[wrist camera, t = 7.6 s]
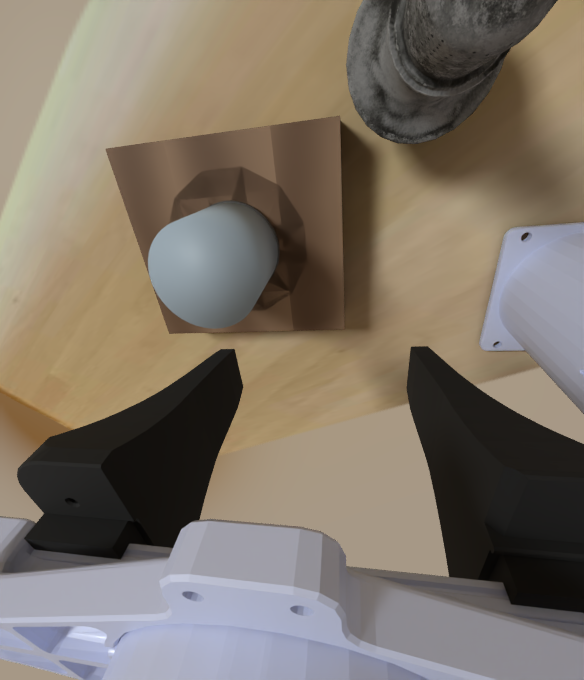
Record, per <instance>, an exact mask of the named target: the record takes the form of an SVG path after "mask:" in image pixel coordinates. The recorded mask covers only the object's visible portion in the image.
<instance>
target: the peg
mask: <svg viewBox="0 0 584 680" xmlns="http://www.w3.org/2000/svg"><path fill="white" fill-rule="evenodd" d="M279 254H280V250H279V242H278V238H277V235H276V232H275V230H274V228H273V226H272V225H271V223H270V222H269V220H268V219H267V218H266V217H265V216H264V215H263V214H262V213H261V212H260V211H259V210H257V209H256V208H254V207H252V206H251V205H248V204H246V203H243V202H239V201H233V200H231V201H221V202H218V203H215V204H212V205H211V206H209V207H207V208H206V209H203V210H201V211H198V212H196V213H193V214H191V215H189V216H186V217H184V218H181V219H179V220H177V221H174V222H172V223H170V224H168V225H167V226H165V227H164V228H163V229H162V230H161V231H160V232H159V233H158V234H157V235H156V237H155V238H154V240H153V242H152V244H151V247H150V250H149V255H148V269H149V275H150V279H151V282H152V284H153V287H154V289H155V291H156V293H157V295H158V296H159V298H160V299H161V300H162V302H163V303H164V304H165V305H166V306H167V307H168V308H169V309H170V310H171V311H172V312H173V313H174V314H176V315H177V316H178V317H180V318H181V319H183V320H185V321H187V322H189V323H191V324H193V325H196V326H199V327H203V328H212V329H218V328H225V327H229V326H232V325H234V324H236V323H238V322H240V321H241V320H243V319H244V318H245V317H246V316H247V315H248V314H249V313H250V311H251V310H252V309H253V307H254V305H255V304H256V302H257V300H258V298H259V297H260V295H261V293H262V291H263V290H264V288H265V286H266V284H267V283H268V281H269V280H270V278H271V277H272V276H273V274H274V272H275V270H276V268H277V265H278V261H279Z"/></svg>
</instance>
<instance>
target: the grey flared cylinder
mask: <svg viewBox="0 0 584 680" xmlns="http://www.w3.org/2000/svg"><path fill="white" fill-rule="evenodd" d="M556 2H557V0H363V2H362V3H361V5H360V7H359V9H358V11H357V14H356V17H355V21H354V24H353V27H352V31H351V34H350V37H349V45H348V55H347V64H346V66H347V76H348V85H349V91H350V94H351V97H352V100H353V103H354V105H355V108H356V110H357V112H358V113H359V115H360V116H361V118H362V119H363V121H364V122H365V124H366V125H367V126H368V127H369V128H370V129H372V130H373V131H374V132H375V133H377V134H378V135H379V136H380V137H382V138H385V139H387V140H390V141H393V142H395V143H403V144H418V143H422V142H426V141H430V140H434V139H437V138H439V137H440V136H442V135H444V134H446V133H448V132H450V131H452V130H453V129H455V128H456V127H457V126H458V125H460V124H461V123H462V122H463V121H464V120H465V119H467V118H468V117H469V116H470V115H471V114H472V113H473V112H474V111H475V110H476V108H477V107H478V106H479V105H480V103H481V102H482V101H483V99H484V98H485V97H486V96H487V94H488V93H489V91H490V89H491V87H492V85H493V83H494V82H495V80H496V78H497V76H498V74H499V72H500V70H501V68H502V65H503V61H504V58H505V56H506V55H507V53H508V52H509V51H510V49H511V47H513V46H514V45H516V44H518V43H519V42H520V41H521V40H523V39H524V38H525V37H526V36H527V35H528V34H529V33H530V32H532V31H533V30H534V29H535V28H536V27H537V26H538V25H539V23H540V22H541V21H542V20H543V18H544V17H545V16H546V14H547V13H548V12H549V11H550V9H551V8H552V7H553V5H554V4H555V3H556Z"/></svg>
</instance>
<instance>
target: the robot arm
mask: <svg viewBox="0 0 584 680" xmlns="http://www.w3.org/2000/svg"><path fill="white" fill-rule="evenodd" d="M526 232H528V236H527V238H526V239H524V240H521V237H522V235H523V234H524V233H526ZM498 341H499V343H498V344H497V345H493V344H494V343H495V342H498ZM479 345H480V347H481V348H482V349H483V350H485V351H520V350H525V351H526V352H527V353H528V354H529V355H530V356H531V357H532V358H533V359H534V360H535V361H536V363H537V364H538V365H539V366H540V367H541V368H542V369H543V370H544V371H545V372H546V373H547V375H548V376H549V377H550V378H551V379H552V380H553V381H554V382H555V383H556V384H557V385H558V387H559V388H560V389H561V390H562V391H563V392H564V393H565V394H566V395H567V396H568V397H569V399H570V400H572V402H573V403H574V404H575V405H576V406H577V407H578V408H579V409H580V411H581V412H582V413H583V414H584V222H578V223H565V224H551V225H537V226H523V227H514V228H511V229H509V230H508V231H507V232H506V233H505V235H504V238H503V242H502V247H501V251H500V255H499V259H498V264H497V268H496V272H495V277H494V281H493V285H492V290H491V294H490V298H489V303H488V307H487V311H486V316H485V320H484V324H483V329H482V333H481V337H480V341H479ZM242 390H243V384H242V380H241V375H240V371H239V367H238V362H237V358H236V354H235V350H234V349H221V350H219V351H218V352H216V353H215V354H213V355H212V356H210V357H209V358H208V359H206V360H205V361H204V362H202V363H201V364H200V365H198V366H197V367H195V368H194V369H193V370H191V371H190V372H189V373H187V374H186V375H184V376H183V377H181V378H180V379H178V380H177V381H175V382H174V383H172V384H171V385H169V386H168V387H166V388H165V389H163V390H162V391H160V392H158V393H156V394H155V395H153V396H151V397H149V398H147V399H146V400H144V401H142V402H140V403H138V404H136V405H134V406H132V407H129V408H127V409H125V410H123V411H121V412H119V413H117V414H114V415H112V416H109V417H107V418H105V419H102V420H100V421H97V422H94V423H92V424H89V425H86V426H83V427H80V428H77V429H74V430H71V431H68V432H65V433H62V434H59V435H55V436H52V437H49V438H48V439H47V440H46V441H45V442H44V443H43V444H42V445H41V446H40V447H39V448H38V449H37V450H36V451H35V452H34V453H33V454H32V455H31V456H30V457H29V458H28V459H27V460H26V461H25V462H24V463H23V464H22V465H21V466H20V467H19V468H18V472H17V477H18V480H19V483H20V485H21V486H22V488H23V489H24V491H25V492H26V493H27V494H28V495H29V496H30V497H31V499H32V500H33V501H34V502H35V503H36V504H37V505H38V507H39V508H40V509H41V510H42V511H43V512H44V515H43V516H42V517H41V518H40V519H39V521H38V522H37V523H35V522H33V521H31V520H28V519H24V518H23V519H22V518H13V517H3V516H0V659H2V660H7V661H11V662H15V663H19V664H23V665H27V666H31V667H35V668H39V669H42V670H47V671H50V672H54V673H57V674H61V675H65V676H68V677H72V678H76V679H79V680H584V444H582V443H580V442H577V441H575V440H573V439H570V438H568V437H566V436H563V435H561V434H559V433H557V432H554V431H552V430H550V429H548V428H546V427H543V426H542V425H540V424H538V423H536V422H534V421H532V420H530V419H528V418H526V417H524V416H522V415H520V414H518V413H516V412H515V411H513V410H511V409H509V408H508V407H506V406H505V405H503V404H501V403H500V402H498V401H496V400H495V399H493V398H492V397H490V396H489V395H487V394H486V393H484V392H483V391H481V390H480V389H478V388H477V387H476V386H474V385H473V384H472V383H470V382H469V381H468V380H466V379H465V378H464V377H463V376H461V375H460V374H459V373H458V372H456V371H455V370H454V369H453V368H452V367H450V366H449V365H448V364H447V363H446V362H445V361H444V360H442V359H441V358H440V357H439V356H438V355H437V354H436V353H435V352H433V351H432V350H431V349H430V348H429V347H428V346H426V347H411V351H410V361H409V370H408V380H407V393H408V399H409V404H410V410H411V413H412V416H413V419H414V423H415V425H416V429H417V432H418V435H419V438H420V441H421V444H422V447H423V450H424V453H425V456H426V460H427V463H428V467H429V470H430V475H431V480H432V484H433V489H434V493H435V499H436V504H437V509H438V514H439V519H440V525H441V530H442V536H443V542H444V547H445V553H446V559H447V565H448V572H449V577H444V576H435V575H426V574H416V573H406V572H397V571H387V570H378V569H367V568H358V567H349V566H346V555H345V554H344V552H343V550H342V548H341V546H340V544H339V543H338V542H337V541H336V540H334V539H332V538H331V537H329V536H328V535H326V534H324V533H323V532H321V531H317V530H312V529H308V528H304V527H298V526H286V525H274V524H262V523H251V522H239V521H227V520H216V519H207V520H199V519H200V515H201V511H202V507H203V503H204V499H205V495H206V492H207V488H208V485H209V481H210V478H211V474H212V471H213V468H214V465H215V461H216V459H217V456H218V453H219V451H220V448H221V446H222V444H223V441H224V439H225V437H226V434H227V432H228V430H229V427H230V425H231V423H232V420H233V418H234V415H235V413H236V410H237V408H238V405H239V401H240V398H241V394H242Z"/></svg>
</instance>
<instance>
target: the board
mask: <svg viewBox="0 0 584 680" xmlns="http://www.w3.org/2000/svg"><path fill="white" fill-rule="evenodd" d="M106 152H107V155H108V158H109V161H110V164H111V167H112V170H113V172H114V175H115V178H116V181H117V184H118V187H119V190H120V193H121V195H122V198H123V201H124V204H125V207H126V210H127V213H128V216H129V219H130V221H131V224H132V227H133V230H134V233H135V236H136V239H137V242H138V245H139V247H140V250H141V253H142V256H143V259H144V262H145V265H146V268H147V271H148V273H149V269H148V255H149V250H150V247H151V244H152V242H153V240H154V238H155V237H156V235H157V234H158V233H159V232H160V231H161V230H162V229H163V228H164V227H165V226H167V225H168V224H170V223H172V222H174V221H177V220H179V219H181V218H184V217H186V216H189V215H191V214H193V213H196V212H198V211H201V210H203V209H206V208H207V207H209V206H211V205H212V204H215V203H218V202H221V201H231V200H233V201H239V202H243V203H246V204H248V205H251V206H252V207H254V208H256V209H257V210H259V211H260V212H261V213H262V214H263V215H264V216H265V217H266V218H267V219H268V220H269V222H270V223H271V225H272V226H273V228H274V230H275V232H276V235H277V238H278V242H279V250H280V254H279V261H278V265H277V268H276V270H275V272H274V274H273V276H272V277H271V278H270V280H269V281H268V283H267V284H266V286H265V288H264V290H263V291H262V293H261V295H260V297H259V298H258V300H257V302H256V304H255V305H254V307H253V309H252V310H251V311H250V313H249V314H248V315H247V316H246V317H245V318H244V319H243V320H241V321H240V322H238V323H236V324H234V325H232V326H229V327H225V328H218V329H212V328H203V327H199V326H196V325H193V324H191V323H189V322H187V321H185V320H183V319H181V318H180V317H178V316H177V315H176V314H174V313H173V312H172V311H171V310H170V309H169V308H168V307H167V306H166V305H165V304H164V303H163V302H162V300H161V299H160V298H159V296H158V295H157V293H156V291H155V289H154V291H155V294H156V296H157V299H158V302H159V305H160V308H161V311H162V314H163V317H164V320H165V322H166V325H167V328H168V331H169V334H173V333H215V332H257V331H299V330H341V329H345V321H344V269H343V222H342V175H341V128H340V116H336V117H328V118H321V119H314V120H307V121H300V122H293V123H286V124H279V125H271V126H264V127H257V128H250V129H243V130H236V131H229V132H222V133H214V134H207V135H200V136H193V137H186V138H179V139H172V140H164V141H157V142H150V143H143V144H136V145H129V146H122V147H115V148H107V149H106ZM149 276H150V275H149ZM152 285H153V284H152ZM153 288H154V287H153Z"/></svg>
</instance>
